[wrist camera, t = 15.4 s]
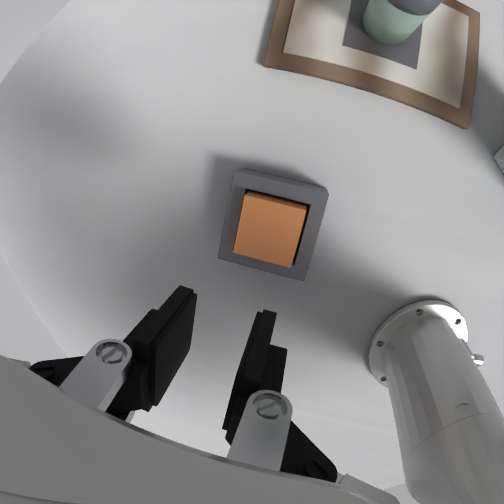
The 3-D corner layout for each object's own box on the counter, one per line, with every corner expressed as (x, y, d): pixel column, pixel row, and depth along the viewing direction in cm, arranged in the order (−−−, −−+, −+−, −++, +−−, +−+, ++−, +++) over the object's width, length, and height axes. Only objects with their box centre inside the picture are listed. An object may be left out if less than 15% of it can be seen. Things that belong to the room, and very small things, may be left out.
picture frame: (475, 15, 18) (481, 12, 17) (463, 129, 23) (469, 129, 22) (292, -44, 20) (291, -50, 19) (265, 67, 25) (263, 63, 24)
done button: (306, 203, 27) (306, 210, 24) (292, 256, 29) (290, 267, 26) (251, 190, 27) (244, 195, 25) (240, 242, 29) (232, 252, 27)
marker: (410, 15, 20) (447, -31, 10) (405, 52, 21) (446, 15, 12) (365, 0, 20) (385, -54, 11) (359, 37, 22) (380, -10, 12)
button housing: (326, 188, 28) (328, 194, 25) (304, 266, 31) (303, 281, 28) (243, 167, 29) (234, 171, 26) (227, 246, 32) (217, 258, 29)
